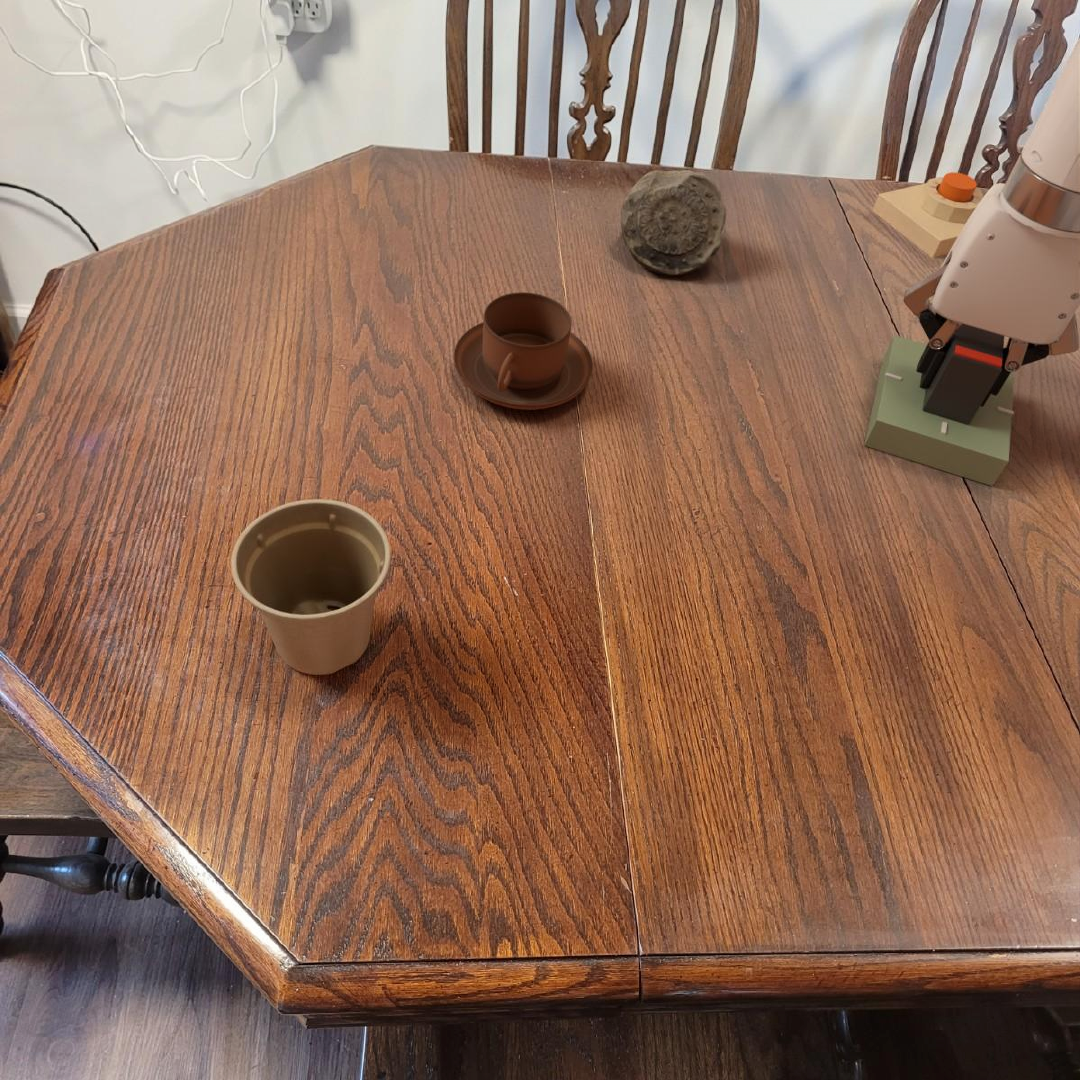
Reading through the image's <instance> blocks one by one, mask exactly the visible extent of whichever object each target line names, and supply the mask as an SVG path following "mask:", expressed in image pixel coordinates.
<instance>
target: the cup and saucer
mask: <svg viewBox="0 0 1080 1080" xmlns="http://www.w3.org/2000/svg"><path fill="white" fill-rule="evenodd" d="M572 323H573V322H572V318H571V314H570V312H569V311H568V310H567V308H566V307H564V306H563V305H562V304H561V303H560V302H558V301H557V300H555V299H553V298H551V297H549V296H546V295H543V294H540V293H536V292H527V291H526V292H525V291H524V292H523V291H522V292H521V291H520V292H511V293H507V294H503V295H501V296H497V297H496V298H494V299H493V300H492V301H490V302H489V303H488V304H487V306H486V307H485V310H484V313H483V321H482V322H480V323H477V324H476V325H474V326H472V327H471V328H469V329H468V330H466V331H465V333H463V334H462V335H461V337H460V338H459V339H458V341H457V342H456V345H455V348H454V352H453V360H454V362H453V363H454V366H455V370H456V372H457V375H458V376H459V378H460V380H461V381H462V382H463V383H464V385H465V386H466V387H467V388H468V389H469V390H470V391H472V392H473V393H474V394H476V395H477V396H479V397H480V398H482V399H484V400H486V401H488V402H490V403H493V404H495V405H498V406H501V407H504V408H509V409H514V410H523V411H526V410H527V411H531V410H533V411H535V410H543V409H549V408H553V407H556V406H560V405H562V404H565V403H567V402H568V401H571V400H573V399H574V398H576V397H577V396H578V395H579V394H580V393H582V391H584V389H585V387H587V385H588V384H589V381H590V379H591V376H592V373H593V360H592V359H593V358H592V355H591V353H590V351H589V349H588V348H587V346H586V345H585V344H584V342H583V341H582V340H581V339H580V338H579V337H578V336H577V335H575V334H574V333H573V332H572V325H573V324H572Z"/></svg>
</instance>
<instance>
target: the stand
mask: <svg viewBox="0 0 1080 1080" xmlns="http://www.w3.org/2000/svg"><path fill="white" fill-rule="evenodd" d="M927 344H928V343H927ZM927 344H926V343H923V342H919V341H917V340H914V339H913V340H912V339H909V338H906V337H903V336H900V335H895V334H894V335H893V337H892V339H891V341H890V344H889V346H888V348H887V349H886V352H885V354H884V356H883V358H882V361H881V364H880V365H881V366H880V370H879V375H878V380H877V384H876V389H875V393H874V397H873V402H872V406H871V412H870V416H869V420H868V424H867V425H868V426H867V431H866V434H865V440H864V444H863V445H864V446H865V447H868V448H871V449H874V450H876V451H881V452H883V453H886V454H889V455H892V456H896V457H899V458H902V459H906V460H908V461H911V462H915V463H917V464H921V465H924V466H927V467H931V468H933V469H938V470H940V471H943V472H946V473H949V474H952V475H956V476H958V477H962V478H965V479H968V480H971V481H974V482H978V483H981V484H984V485H987V486H990V487H993V485H995V483H996V481H997V480H998V479H999V477H1000V476H1001V474H1002V472H1003V471H1004V469H1005V468H1006V467H1007V465H1008V463H1009V461H1010V448H1011V434H1012V433H1011V432H1012V416H1014V414H1015V411H1014V410H1013V398H1014V384H1015V383H1014V382H1015V381H1014V379H1015V372H1011V373H1010V375H1009V377H1008V378H1007V380H1006V381H1005V383H1004V385H1003V386H1002V388H1001V390H1000V391H999V393H998V394H997V395H996V396H995V395H992V394H991V395H990V396H989V398H988V400H987V401H986V403H985V405H984V406H983V407H981V406H980V407H979V409H978V411H977V412H976V414H975V416H974V417H973V419H972V421H971V422H970V424H969V425H968V424H965V423H961V422H958V421H955V420H952V419H948V418H945V417H942V416H939V415H935V414H932V413H929V412H926V411H923V403H924V397H925V391H926V389H922V388H920V381H921V375H922V373H919V372H916V369H917V365H918V362H919V360H920V358H921V356H922V354H923V352H924V350H925V348H926V346H927Z"/></svg>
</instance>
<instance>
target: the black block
mask: <svg viewBox="0 0 1080 1080" xmlns="http://www.w3.org/2000/svg"><path fill="white" fill-rule="evenodd" d="M1004 346H1005V336H1003V335H999V334H996V333H992V332H989V331H986V330H982V329H979V328H975V327H972V326H969V325H965V324H962V326H961V327H960V328H959V329H958V330H957V331H956V333H955V334H954V335H953V336H952V337H951V339H950V340H949V341H948V348H947V354H946V357H945V359H944V361H943V363H942V364H941V366H940V368H939V370H938V372H937V374H936V376H935V378H934V379H933V381H932V383H931V385H930V387H929V388H926V391H925V397H924V403H923V411H926V412H929V413H932V414H935V415H939V416H942V417H945V418H948V419H952V420H955V421H958V422H961V423H965V424H968V425H969V424H970V422H971V421H972V419H973V417H974V416H975V414H976V412H977V411H978V409H979V407H980V406H981V404H982V402H983V401H984V399H985V397H986V396H987V394H988V392H989V391H990V389H991V387H992V386H993V384H994V382H995V381H996V379H997V377H998V376H999V374H1000V372H1001V371H1002V361H1003V348H1005V347H1004Z"/></svg>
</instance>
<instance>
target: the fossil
mask: <svg viewBox="0 0 1080 1080" xmlns="http://www.w3.org/2000/svg"><path fill="white" fill-rule="evenodd" d="M726 219H727V208H726V206H725V204H723V201H722V195H721V191H720V188H719V186H718V185H717V184H716V182H715V181H714V180H713V179H712V178H711V177H710V176H709V175H707V174H705V173H702V172H696V171H694V170H689V169H682V170H678V169H674V170H656V169H654V170H652V171H649V172H647V173H646V174H644V175H643V176H641V178H639V180H637V182H636V183H635V184H634V185H633V187H632V188H631V189H629V192H628V193H627V194H626V196H625V198H624V200H623V202H622V205H621V210H620V228H621V236H622V239H623V242H624V244H625V245H626V246H627V249H628V251H629V253H630V255H631V257H632V258H633V260H634V261H635V262H636V263H638V264H640V266H642V267H644V268H645V269H647V270H648V271H651V272H653V273H656V274H658V275H662V276H667V277H668V276H669V277H670V276H671V277H676V276H683V275H687V274H690V273H693V272H695V271H697V270H699V269H701V268H702V267H705V266H706V264H708V263H709V262H710V261H711V260H712V259H713V258H714V257H715V256H716V255H717V254H718V252H719V250H720V248H721V247H722V234H723V230H724V226H725V225H726Z"/></svg>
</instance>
